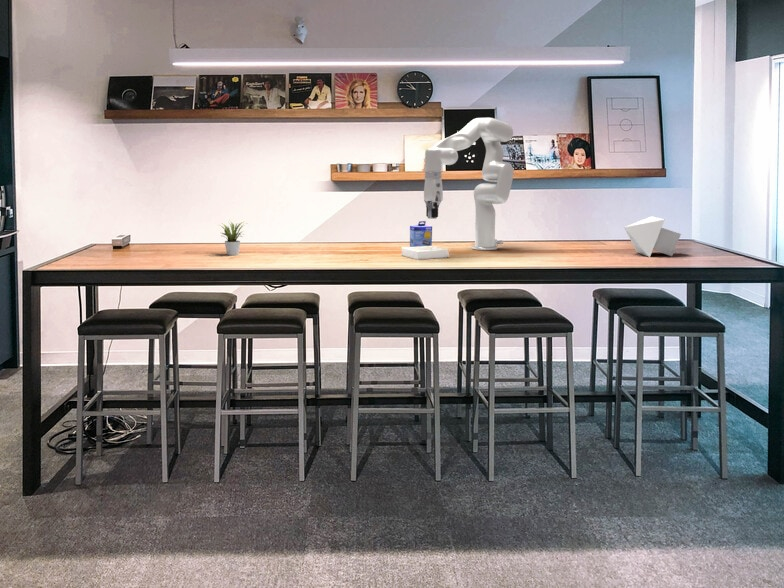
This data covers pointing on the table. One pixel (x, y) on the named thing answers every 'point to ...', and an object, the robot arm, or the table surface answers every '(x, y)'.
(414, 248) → the flat white box
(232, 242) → the house plant
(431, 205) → the battery cell
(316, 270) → the table surface
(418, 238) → the ink cartridge box
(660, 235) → the pyramid on cube
